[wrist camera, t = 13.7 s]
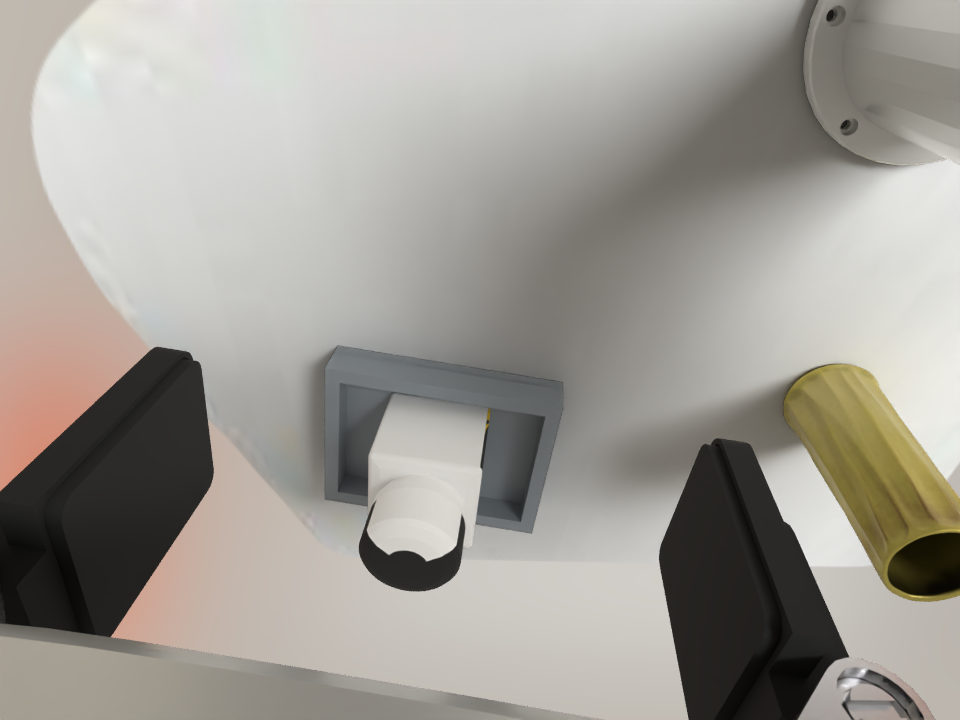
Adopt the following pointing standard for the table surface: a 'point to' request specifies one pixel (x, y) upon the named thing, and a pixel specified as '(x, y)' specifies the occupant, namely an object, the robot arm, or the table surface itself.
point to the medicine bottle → (423, 490)
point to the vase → (880, 480)
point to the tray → (511, 398)
